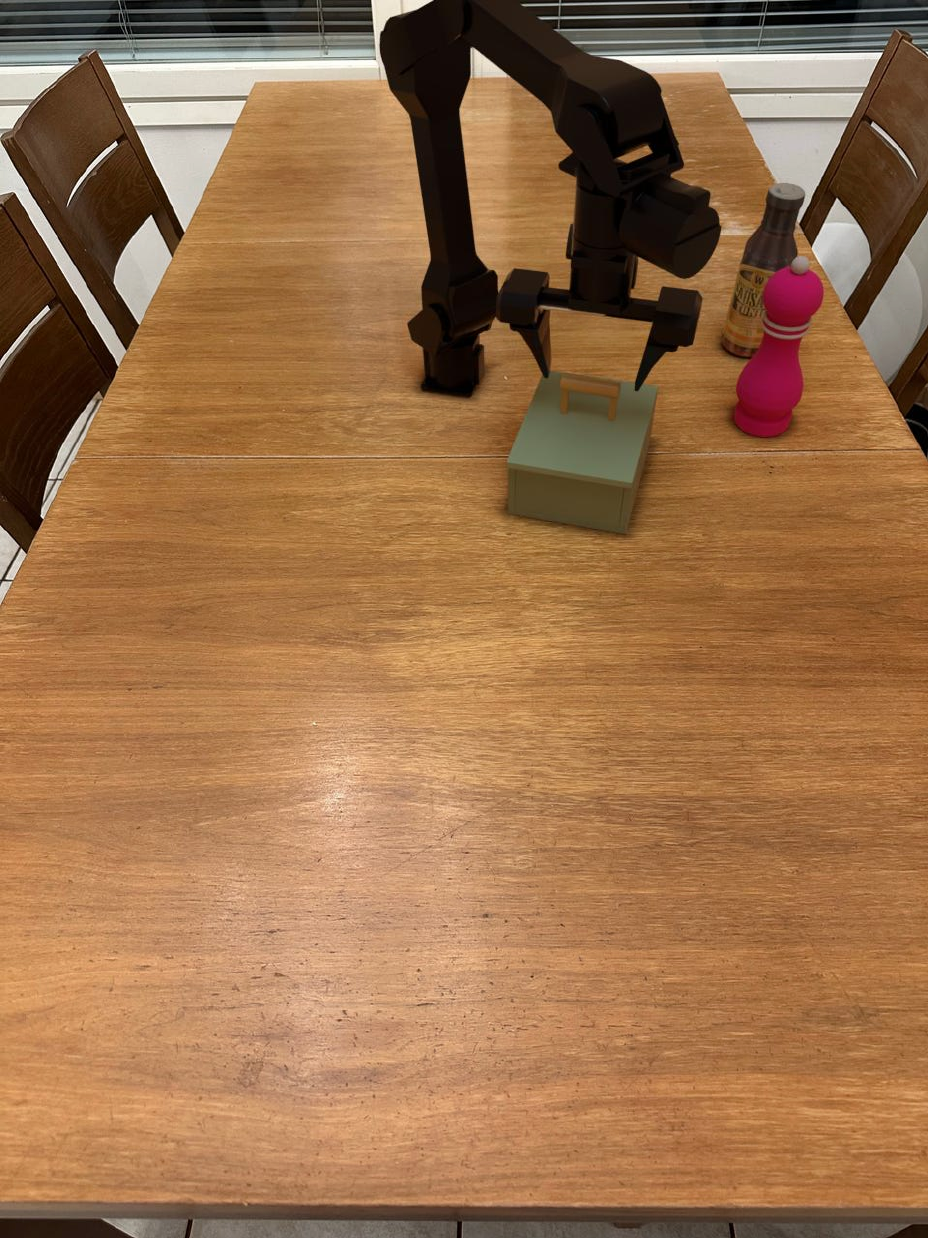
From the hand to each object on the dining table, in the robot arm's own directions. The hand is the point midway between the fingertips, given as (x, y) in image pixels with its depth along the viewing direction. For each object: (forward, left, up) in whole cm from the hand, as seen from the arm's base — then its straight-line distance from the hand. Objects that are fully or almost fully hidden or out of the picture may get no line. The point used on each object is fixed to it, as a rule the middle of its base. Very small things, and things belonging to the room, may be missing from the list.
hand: (591, 382), depth 96 cm
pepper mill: (+18, +14, -12) cm, 26 cm away
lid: (0, -1, -5) cm, 5 cm away
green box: (0, -1, -12) cm, 12 cm away
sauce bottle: (+15, +29, -12) cm, 35 cm away
